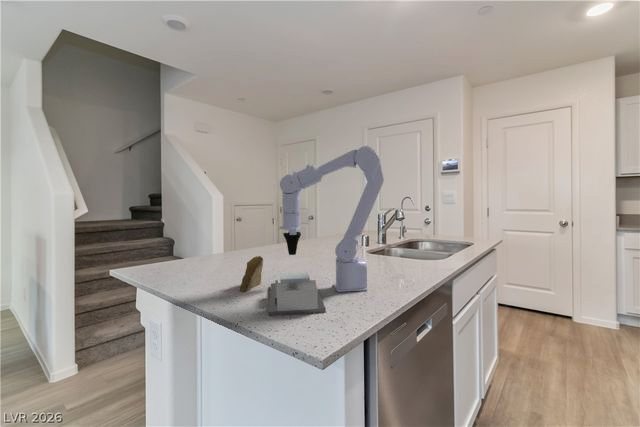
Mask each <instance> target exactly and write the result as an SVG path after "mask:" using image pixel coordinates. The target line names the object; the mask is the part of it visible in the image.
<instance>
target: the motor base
mask: <svg viewBox="0 0 640 427" xmlns="http://www.w3.org/2000/svg"><path fill="white" fill-rule="evenodd" d="M268 304H269V308H268V316H271V317H272V316H287V315H301V314H302V315H304V314H316V313H317V314H319V313H320V314H321V313H327V312H326V310H327V309H326V306H325V304H324V302H323V300H322V297H321V294H320V292H319V290H318V287H317V284H316V285H315V282H313V283H293V284H281V282H279V281H278V279H275V283H274V282H273V283H270V292H269V303H268Z"/></svg>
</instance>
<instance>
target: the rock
mask: <svg viewBox="0 0 640 427" xmlns="http://www.w3.org/2000/svg"><path fill="white" fill-rule="evenodd" d="M263 266H264V258H263V257H262V256H261V255H258V256H257V255H256V256H254V257H252V259H250V260H249V261H247V262H246V269H245V273H244V275H243V277H242V279H241V284H240V286H239V291H240V292H247V291H250V290H252V289H254V288H256V287H257V286H259V285H260V284H262V271H263Z"/></svg>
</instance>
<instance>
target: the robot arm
mask: <svg viewBox="0 0 640 427" xmlns="http://www.w3.org/2000/svg"><path fill="white" fill-rule="evenodd" d="M357 166H358V168H360V170H361V171H362V172H363V174H364V177H365V178H366V181H367V182H366V185H365V187H364V189H363V192H362V194H361V197H360V198H359V201H358V203H357V206H356V208H355V211H354V214H352V217H351V220H350V222H349V224H348V227H347V229H346V231H345V233H344V236H343V237H342V238H341V240H340V241H339V243H338V244H337V245H336V247H335V252H334V253H335V256H336V258H335V282H334V283H332V286H333V287H334V289H335V290H336V291H337V293H342V292H343V293H345V292H357V291H358V292H359V291H360V292H362V291H364V292H365V291H368V268H367V267H368V266H367V262H366V260H364V259H360V258H359V257H358V256H357V252H358V251H359V241H360V237H361V235H362V233H363V230H364V228H365V226H366V224H367V221H368V219H369V217H370V214H371V213H372V210H373V207H374V206H375V203H376V201H377V198H378V196H379V193H380V191H381V189H382V186H383V184H384V181H385V180H384V174H383V169H382V165H381V160H380V157H379V155H378V154H377V152H376V150H375V149H374V148H372V147H371V146H367V145H364V146H361V147H359V148H358V149H356V148H355V149H351V150H350V151H347V152H345V153H344V154H342V155H341V154H340V155H339V156H337V157H335V158H334V159H331V160H330V161H328V162H325V163H323V164H321V165H320V166H318V165H315V164H312V165H310V164H307V165H305V167H306V168H303V169H300V171H293V172H292V174H286V175H285V176H283V177H282V178H281V179H280V181H279V187H280V190H281V191H282V199H281V200H282V226H279V230H284V231H285V230H286V231H288V232H283V233H282V234H283V237H284V239H285V241H286V246H287V251H288V256H296V254H297V251H298V250H297V249H298V243H299V241H300V240H299V239H300V238H301V236H302V234H301V231H299V230H301V229H302V226H301V225H302V224H301V222H302V221H301V194H300V193H301V191H302V190H304V189H306V188H309V187H311V186H313V185H316V184H317V183H321V181H322V179H323V177H324V176H326V175H329V174H332V173H334V172H337V171H339V170H342V169H344V168H346V167H347V168H355V169H356V168H357Z"/></svg>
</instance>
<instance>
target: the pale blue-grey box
mask: <svg viewBox="0 0 640 427" xmlns="http://www.w3.org/2000/svg"><path fill="white" fill-rule="evenodd" d="M279 275H280V282H279V283H281V284H293V283H313V282H315V285H316V286H317V281H316V279H313V280H312V279H311V278H310V275H309V273H308V271H302V272H301V271H300V272H282V273H279Z"/></svg>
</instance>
